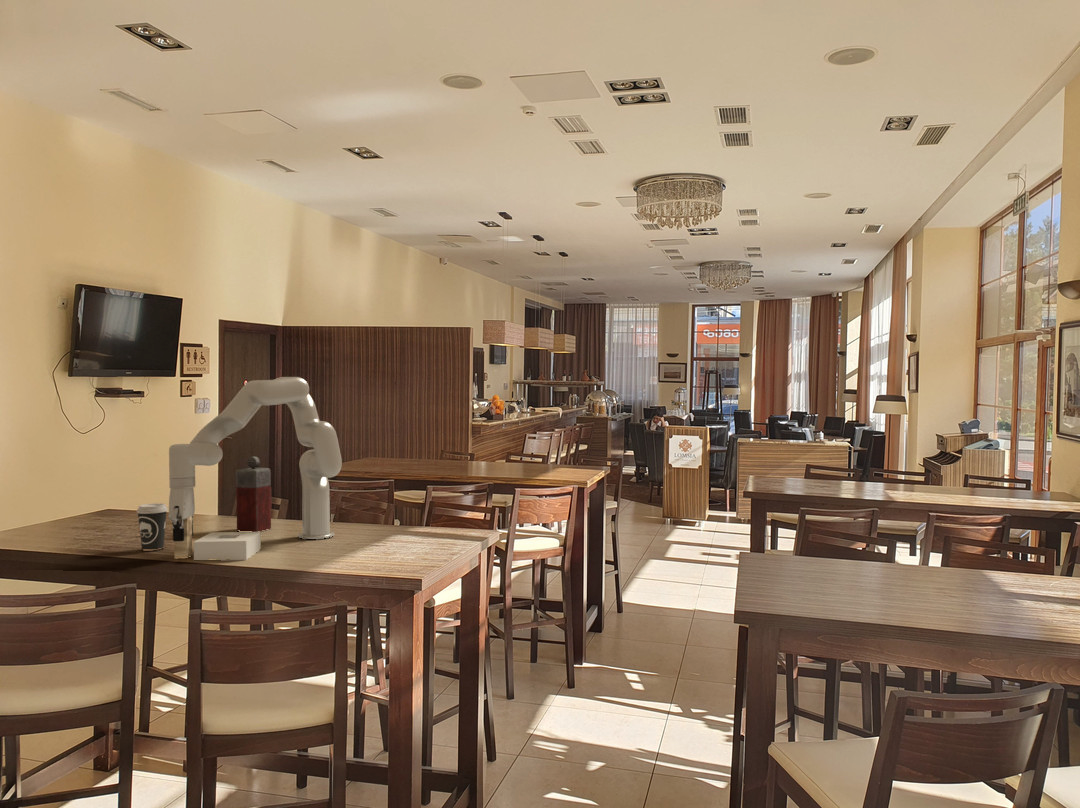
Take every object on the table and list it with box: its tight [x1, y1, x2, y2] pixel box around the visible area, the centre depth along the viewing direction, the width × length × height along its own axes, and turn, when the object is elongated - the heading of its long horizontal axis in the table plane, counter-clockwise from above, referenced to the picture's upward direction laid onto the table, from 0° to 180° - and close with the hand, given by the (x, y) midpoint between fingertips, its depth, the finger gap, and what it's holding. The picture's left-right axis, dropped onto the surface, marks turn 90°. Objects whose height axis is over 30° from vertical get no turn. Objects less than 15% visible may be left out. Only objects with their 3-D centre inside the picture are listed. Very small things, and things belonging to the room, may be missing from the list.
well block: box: [193, 531, 262, 561], centre depth 255 cm, size 16×16×6 cm
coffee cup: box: [135, 503, 169, 550], centre depth 263 cm, size 10×10×15 cm
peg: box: [173, 516, 193, 558], centre depth 250 cm, size 4×4×15 cm
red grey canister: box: [235, 456, 272, 532], centre depth 300 cm, size 9×11×28 cm
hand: (183, 538), depth 250 cm, fingers open, 6 cm apart
